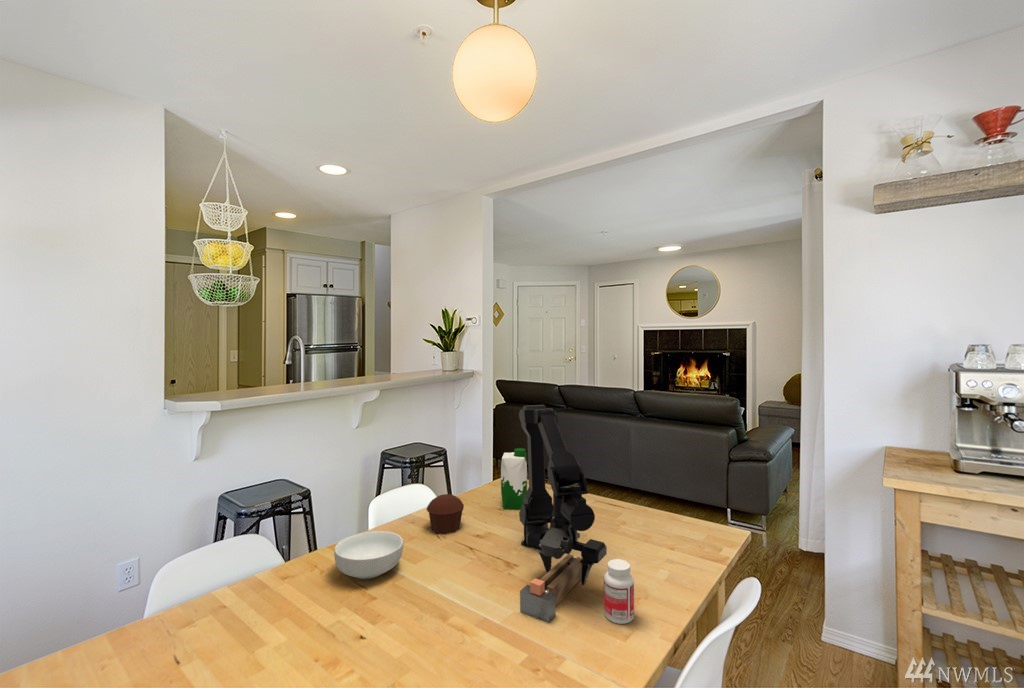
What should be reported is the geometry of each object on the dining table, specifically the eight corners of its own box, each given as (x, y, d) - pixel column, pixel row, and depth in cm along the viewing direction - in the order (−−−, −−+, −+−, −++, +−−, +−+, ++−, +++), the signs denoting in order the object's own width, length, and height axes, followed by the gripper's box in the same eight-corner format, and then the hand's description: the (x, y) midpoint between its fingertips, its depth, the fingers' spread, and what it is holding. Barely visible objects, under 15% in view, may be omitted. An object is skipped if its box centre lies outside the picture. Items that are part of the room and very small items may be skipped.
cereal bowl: (416, 570, 116) (416, 542, 116) (355, 597, 104) (355, 567, 104) (381, 549, 128) (380, 524, 128) (322, 572, 116) (322, 544, 115)
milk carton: (526, 511, 155) (525, 452, 155) (499, 510, 156) (499, 452, 156) (527, 501, 164) (527, 446, 163) (502, 501, 165) (502, 446, 164)
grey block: (520, 611, 98) (519, 590, 98) (528, 603, 101) (528, 583, 101) (548, 622, 94) (548, 600, 94) (556, 613, 97) (556, 592, 97)
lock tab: (530, 592, 97) (530, 582, 97) (535, 588, 99) (534, 578, 99) (540, 596, 96) (540, 585, 96) (544, 591, 98) (544, 581, 98)
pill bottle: (621, 604, 100) (621, 554, 100) (640, 619, 95) (640, 567, 95) (598, 612, 98) (598, 561, 98) (616, 628, 92) (616, 574, 92)
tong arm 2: (552, 608, 99) (552, 588, 99) (544, 606, 100) (544, 585, 100) (583, 576, 112) (582, 558, 112) (575, 573, 113) (575, 556, 113)
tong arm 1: (544, 605, 100) (543, 585, 100) (536, 602, 101) (536, 582, 101) (575, 573, 113) (575, 556, 113) (568, 571, 114) (568, 553, 114)
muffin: (449, 518, 150) (449, 487, 149) (471, 527, 142) (471, 495, 142) (419, 529, 141) (418, 496, 141) (440, 539, 133) (440, 505, 133)
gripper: (514, 517, 107) (514, 583, 107) (587, 535, 97) (588, 608, 97) (537, 502, 116) (538, 563, 116) (607, 517, 106) (607, 584, 106)
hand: (565, 578), depth 109 cm, fingers open, 9 cm apart
